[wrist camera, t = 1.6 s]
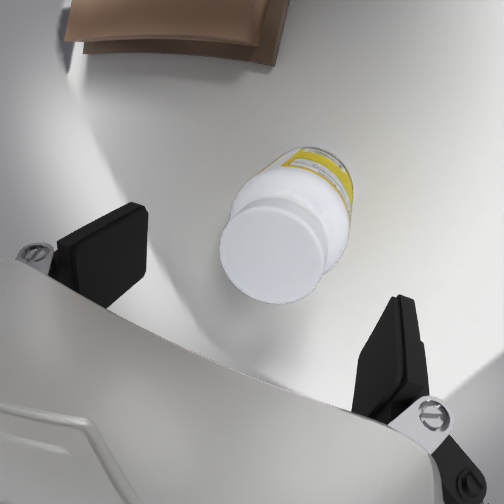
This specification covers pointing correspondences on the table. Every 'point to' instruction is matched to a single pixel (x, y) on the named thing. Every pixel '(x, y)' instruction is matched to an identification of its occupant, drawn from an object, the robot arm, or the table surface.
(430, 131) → the table surface
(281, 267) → the supplement bottle
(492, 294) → the table surface
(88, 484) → the robot arm
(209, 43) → the bottle holder
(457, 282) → the table surface
